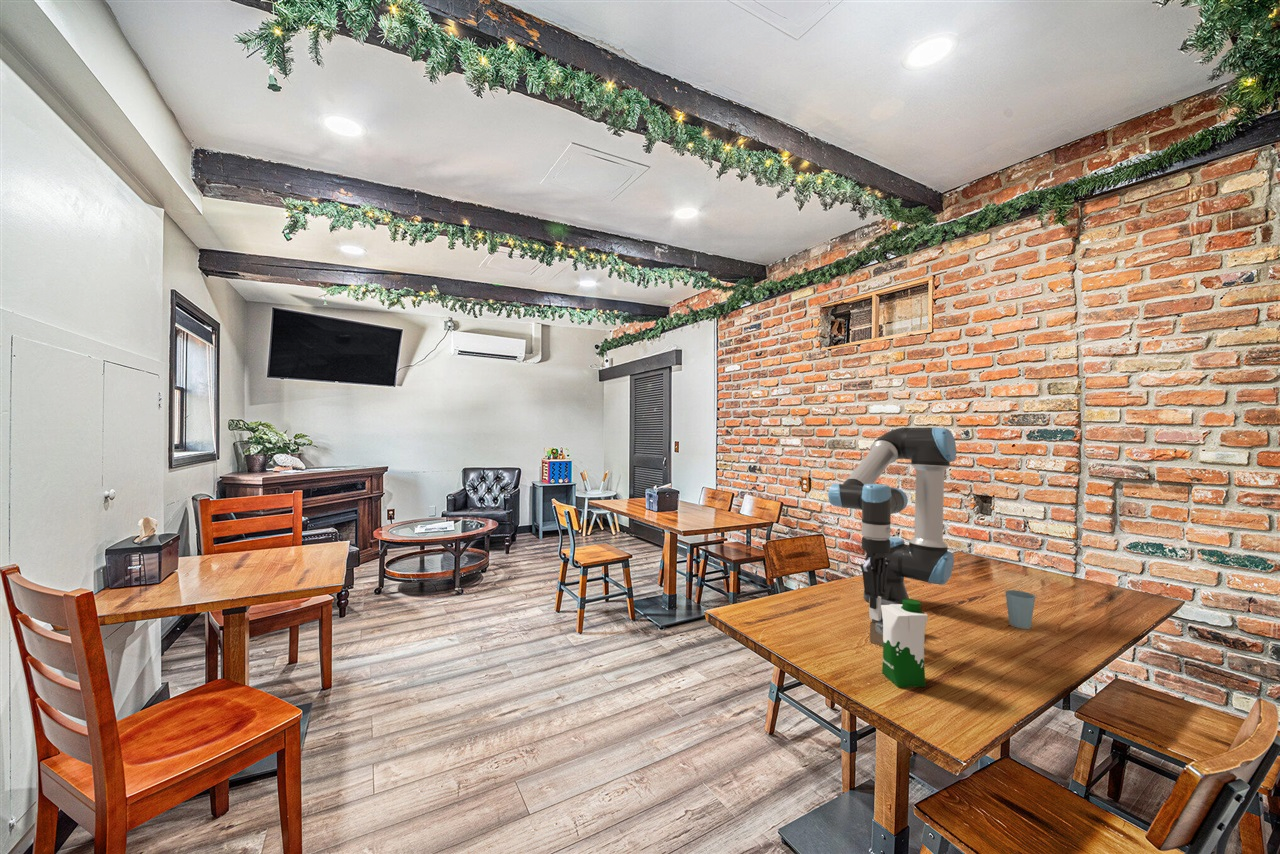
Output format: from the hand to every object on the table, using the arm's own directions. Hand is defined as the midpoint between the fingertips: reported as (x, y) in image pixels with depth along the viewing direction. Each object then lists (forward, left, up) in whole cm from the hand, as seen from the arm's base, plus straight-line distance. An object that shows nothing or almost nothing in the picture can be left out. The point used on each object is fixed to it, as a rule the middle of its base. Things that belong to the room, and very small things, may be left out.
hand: (875, 618), depth 139 cm
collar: (0, +7, -9) cm, 11 cm away
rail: (0, +12, -9) cm, 15 cm away
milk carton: (+13, -11, -9) cm, 19 cm away
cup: (+20, +55, -9) cm, 60 cm away
